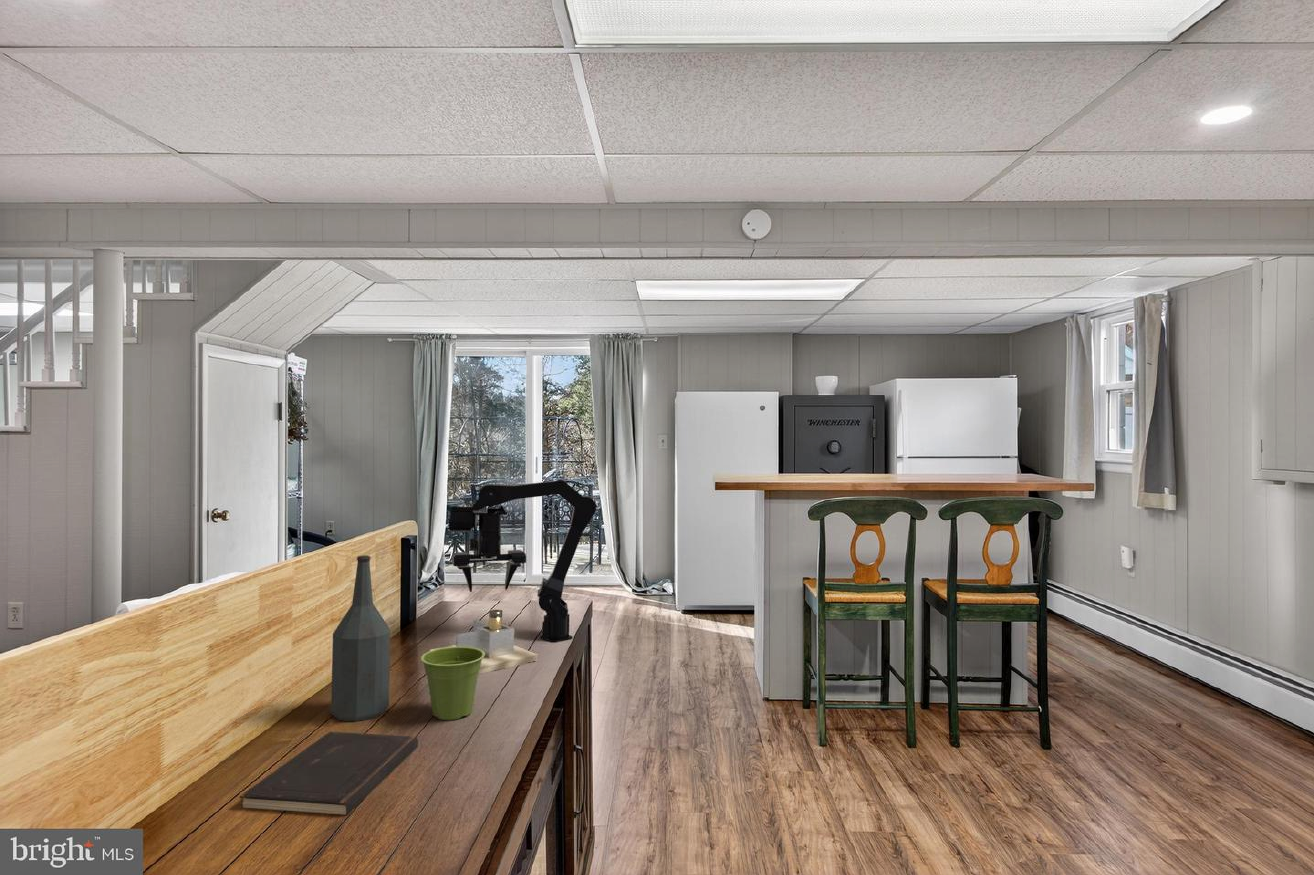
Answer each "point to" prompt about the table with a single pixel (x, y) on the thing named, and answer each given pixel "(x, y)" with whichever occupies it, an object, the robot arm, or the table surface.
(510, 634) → the beige panel with ridges
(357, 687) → the bottle
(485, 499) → the robot arm
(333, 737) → the hardcover book
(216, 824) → the table surface
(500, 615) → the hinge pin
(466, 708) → the plant pot
